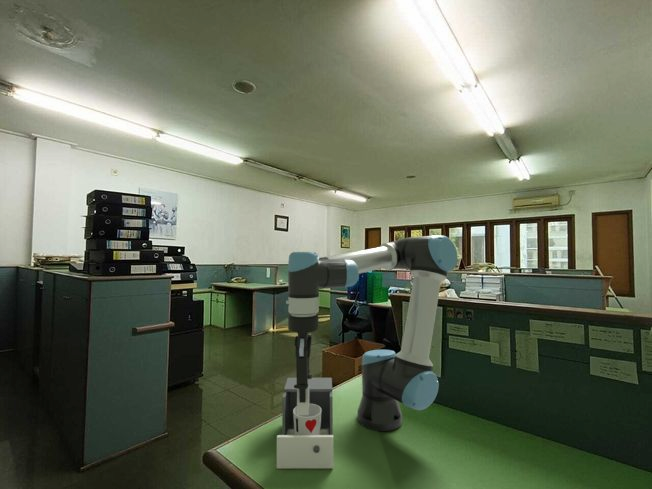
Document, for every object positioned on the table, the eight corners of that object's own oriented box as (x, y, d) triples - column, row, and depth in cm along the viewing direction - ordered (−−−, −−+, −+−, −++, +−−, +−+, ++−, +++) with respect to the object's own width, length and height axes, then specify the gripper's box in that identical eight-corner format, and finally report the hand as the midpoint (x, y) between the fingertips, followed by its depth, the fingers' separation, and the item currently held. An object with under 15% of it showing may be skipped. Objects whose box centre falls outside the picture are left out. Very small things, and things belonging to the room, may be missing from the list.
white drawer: (283, 437, 95) (283, 411, 95) (332, 437, 95) (332, 410, 95) (276, 469, 80) (276, 438, 80) (333, 469, 80) (333, 438, 80)
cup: (289, 452, 85) (289, 415, 85) (297, 436, 93) (297, 402, 93) (318, 456, 83) (317, 418, 83) (324, 439, 91) (324, 404, 91)
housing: (287, 422, 104) (287, 377, 104) (331, 422, 104) (331, 377, 104) (281, 447, 90) (281, 395, 91) (332, 447, 90) (332, 395, 91)
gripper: (291, 308, 84) (291, 395, 83) (283, 320, 68) (283, 428, 67) (319, 308, 84) (319, 395, 83) (317, 320, 68) (317, 428, 67)
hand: (303, 410), depth 75 cm, fingers open, 3 cm apart
